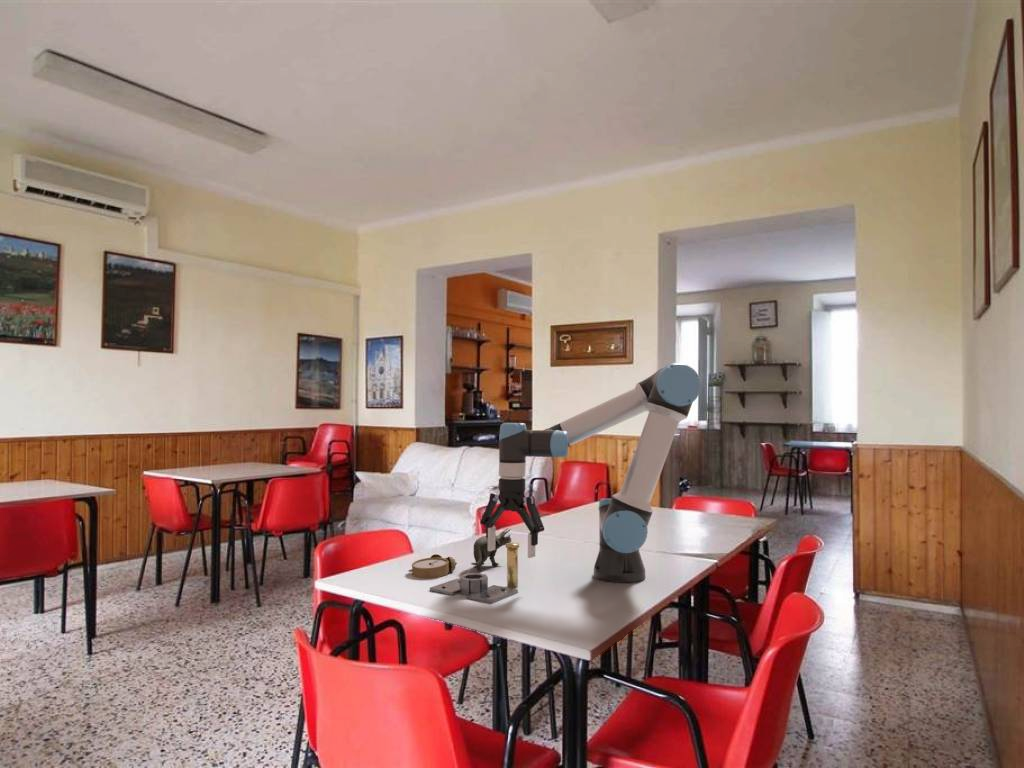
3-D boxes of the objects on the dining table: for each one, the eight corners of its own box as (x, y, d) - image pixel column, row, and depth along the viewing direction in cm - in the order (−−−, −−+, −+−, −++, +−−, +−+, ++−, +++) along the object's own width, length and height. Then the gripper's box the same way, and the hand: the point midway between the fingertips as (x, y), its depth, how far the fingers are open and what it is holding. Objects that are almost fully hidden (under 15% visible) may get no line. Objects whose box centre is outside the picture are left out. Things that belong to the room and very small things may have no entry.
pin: (521, 586, 177) (521, 543, 178) (514, 589, 174) (514, 545, 175) (510, 584, 180) (510, 542, 180) (503, 587, 176) (503, 544, 177)
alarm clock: (403, 565, 191) (438, 548, 203) (405, 581, 191) (440, 563, 203) (429, 571, 184) (463, 552, 196) (431, 587, 184) (465, 568, 196)
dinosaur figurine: (474, 577, 187) (474, 538, 188) (451, 573, 192) (451, 536, 192) (513, 562, 206) (513, 527, 206) (491, 559, 210) (491, 525, 211)
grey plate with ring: (457, 581, 183) (457, 567, 183) (517, 592, 171) (517, 577, 171) (429, 590, 173) (429, 575, 173) (491, 603, 161) (491, 587, 161)
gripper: (557, 479, 174) (556, 557, 173) (484, 473, 188) (483, 545, 188) (542, 481, 168) (541, 562, 167) (469, 475, 182) (467, 549, 181)
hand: (511, 553), depth 177 cm, fingers open, 13 cm apart
